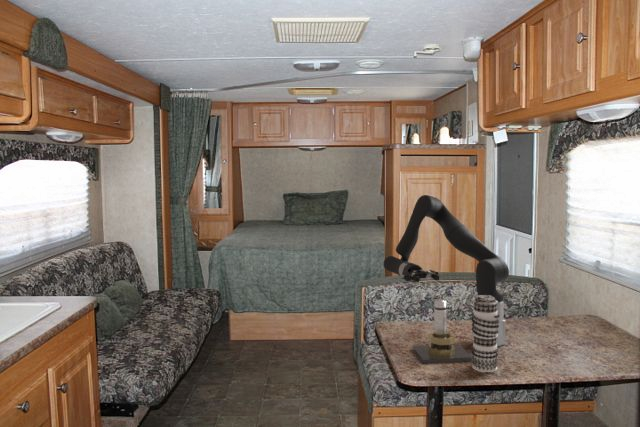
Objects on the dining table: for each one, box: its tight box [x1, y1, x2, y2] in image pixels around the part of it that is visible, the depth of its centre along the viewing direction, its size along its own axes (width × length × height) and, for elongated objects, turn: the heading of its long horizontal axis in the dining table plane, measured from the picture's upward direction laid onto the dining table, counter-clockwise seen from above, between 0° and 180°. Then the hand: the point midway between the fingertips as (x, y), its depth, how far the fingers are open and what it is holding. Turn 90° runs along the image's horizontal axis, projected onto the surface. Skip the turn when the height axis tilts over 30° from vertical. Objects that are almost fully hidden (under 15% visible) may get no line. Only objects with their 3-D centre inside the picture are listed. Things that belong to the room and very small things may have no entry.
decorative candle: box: [470, 295, 500, 373], centre depth 173 cm, size 9×9×25 cm
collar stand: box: [411, 331, 473, 365], centre depth 186 cm, size 18×14×8 cm
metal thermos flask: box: [433, 298, 448, 349], centre depth 185 cm, size 4×4×19 cm
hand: (428, 278), depth 201 cm, fingers open, 8 cm apart
